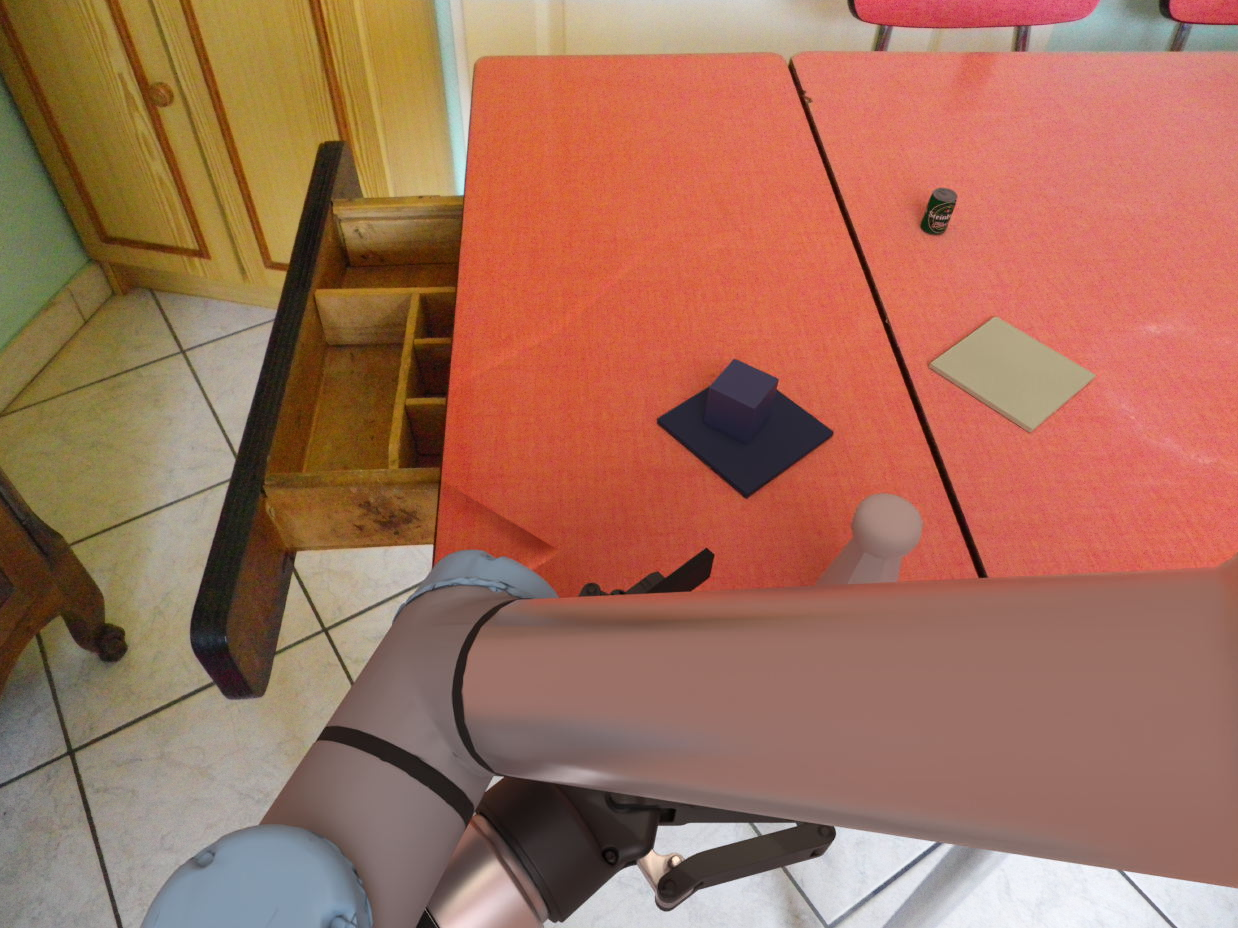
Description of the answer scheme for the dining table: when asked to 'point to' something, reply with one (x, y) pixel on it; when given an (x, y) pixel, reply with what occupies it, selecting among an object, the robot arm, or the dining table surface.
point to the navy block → (740, 400)
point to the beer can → (939, 211)
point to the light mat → (1012, 373)
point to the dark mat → (764, 454)
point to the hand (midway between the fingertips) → (785, 631)
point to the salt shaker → (876, 542)
